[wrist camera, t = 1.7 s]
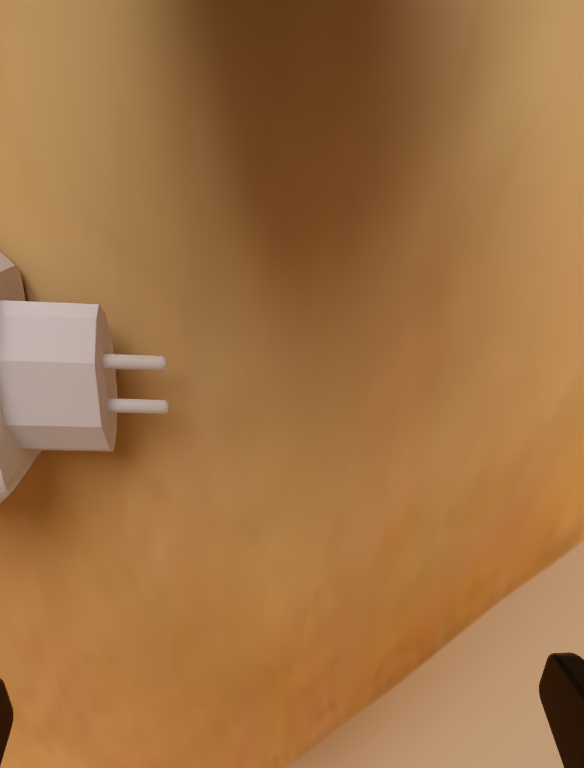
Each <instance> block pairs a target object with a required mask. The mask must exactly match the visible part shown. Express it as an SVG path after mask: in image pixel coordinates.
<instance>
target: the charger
mask: <svg viewBox="0 0 584 768" xmlns="http://www.w3.org/2000/svg"><path fill="white" fill-rule="evenodd" d="M166 367H167V359H166V358H165V357H164V356H152V355H123V354H114V350H113V341H112V337H111V333H110V330H109V326H108V323H107V319H106V316H105V312H104V311H103V309H102V308H101V307H100V305H99V304H80V303H56V302H32V301H26V300H25V294H24V288H23V283H22V278H21V275H20V272H19V269H18V268H17V266H16V265H15V264H14V263H13V262H11V261H10V260H9V259H8V258H7V257H6V256H5V255H4V254H3V253H2V252H1V251H0V503H1V502H2V501H3V500H4V499H5V498H6V497H8V496H9V495H10V494H11V493H12V492H13V490H14V489H15V488H16V486H17V485H18V483H19V482H20V481H21V479H22V478H23V476H24V475H25V474H26V472H27V471H28V469H29V468H30V467H31V465H32V464H33V462H34V461H35V460H36V458H37V457H38V455H39V454H40V453H41V451H42V450H63V451H114V447H115V440H116V431H117V413H153V414H166V413H167V412H168V410H169V403H168V402H167V401H166V400H150V399H118V393H117V382H116V372H115V369H132V370H163V371H164V370H165V369H166Z"/></svg>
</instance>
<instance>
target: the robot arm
mask: <svg viewBox="0 0 584 768" xmlns="http://www.w3.org/2000/svg"><path fill="white" fill-rule="evenodd" d="M539 694H540V699H541V702H542V705H543V708H544V711H545V713H546V716H547V719H548V722H549V725H550V728H551V731H552V734H553V737H554V739H555V742H556V745H557V748H558V751H559V754H560V756H561V759H562V762H563V765H564V768H584V660H583V659H582V658H581V657H580V656H578V655H576V654H574V653H553V654H551V655H549V657H548V658H547V662H546V665H545V668H544V671H543V674H542V677H541V680H540V684H539ZM12 723H13V708H12V705H11V702H10V699H9V696H8V693H7V690H6V687H5V684H4V682H3V680H2V679H0V765H1V762H2V758H3V755H4V752H5V748H6V745H7V741H8V738H9V734H10V731H11V727H12Z"/></svg>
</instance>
